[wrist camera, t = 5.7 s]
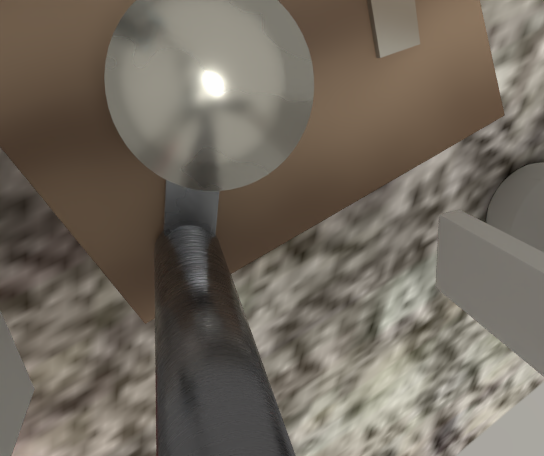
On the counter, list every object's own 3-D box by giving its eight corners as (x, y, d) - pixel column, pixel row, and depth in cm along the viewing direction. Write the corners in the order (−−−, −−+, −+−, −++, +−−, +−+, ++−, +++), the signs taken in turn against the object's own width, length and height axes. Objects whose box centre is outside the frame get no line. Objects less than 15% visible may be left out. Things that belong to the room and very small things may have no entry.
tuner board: (-138, -70, 13) (-208, -100, 10) (351, -327, 13) (397, -414, 11) (145, 292, 19) (145, 328, 17) (465, 108, 20) (509, 116, 18)
